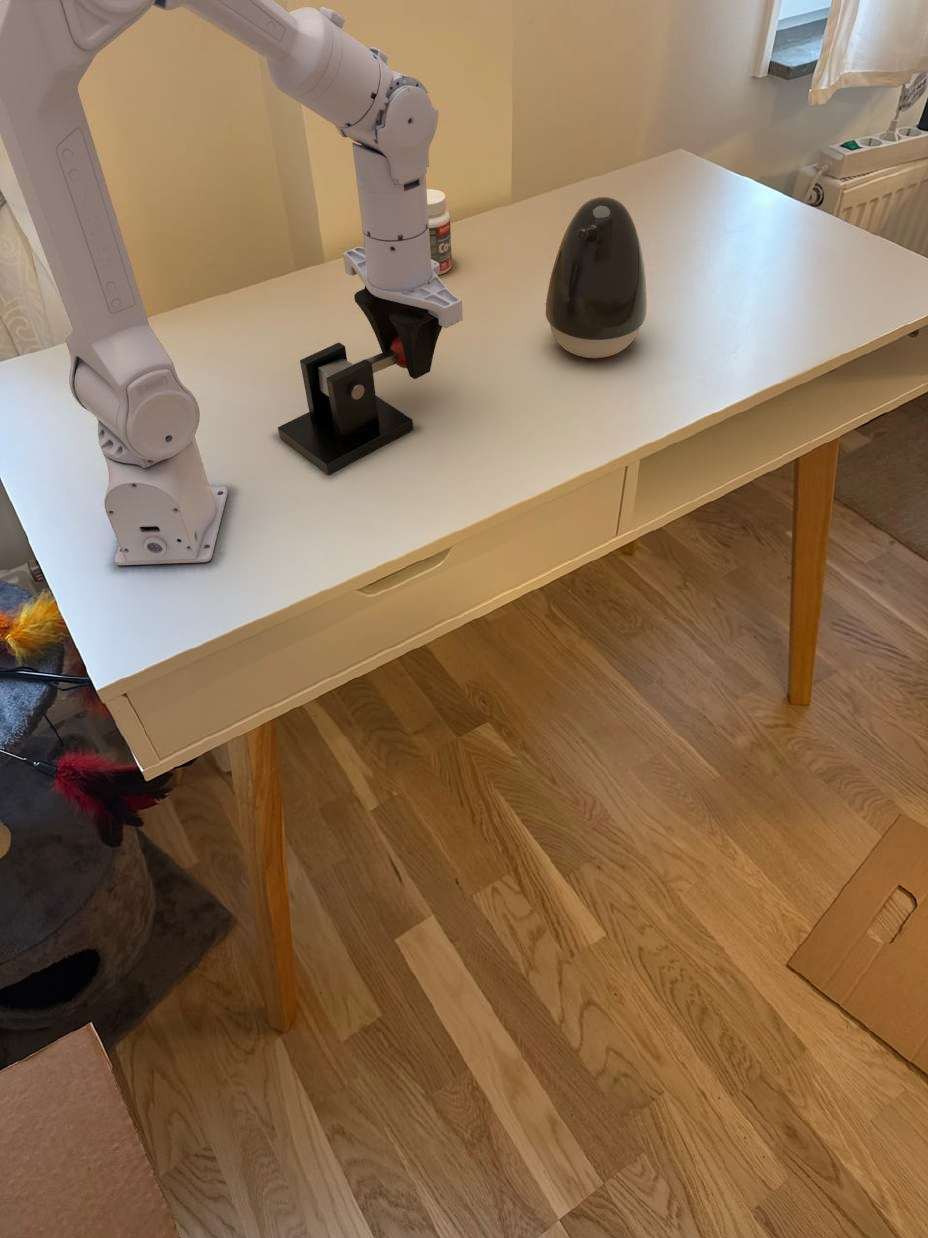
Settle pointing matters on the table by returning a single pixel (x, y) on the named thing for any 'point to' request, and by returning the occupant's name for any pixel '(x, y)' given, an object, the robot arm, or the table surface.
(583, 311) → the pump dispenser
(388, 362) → the lever
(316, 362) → the bracket
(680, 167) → the table surface
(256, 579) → the table surface
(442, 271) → the pill bottle
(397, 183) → the robot arm
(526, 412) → the table surface
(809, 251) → the table surface
